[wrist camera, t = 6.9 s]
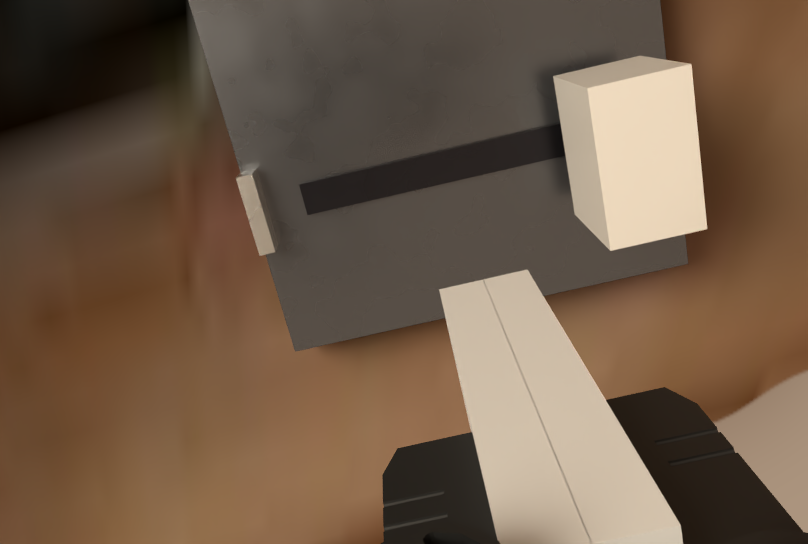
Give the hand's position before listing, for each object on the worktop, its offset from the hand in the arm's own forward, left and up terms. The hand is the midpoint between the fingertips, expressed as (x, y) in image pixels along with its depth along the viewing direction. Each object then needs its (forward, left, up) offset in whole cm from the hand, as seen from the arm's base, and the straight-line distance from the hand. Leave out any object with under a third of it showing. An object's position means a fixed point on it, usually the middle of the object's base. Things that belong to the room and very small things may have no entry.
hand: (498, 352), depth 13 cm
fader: (+6, 0, -16) cm, 17 cm away
